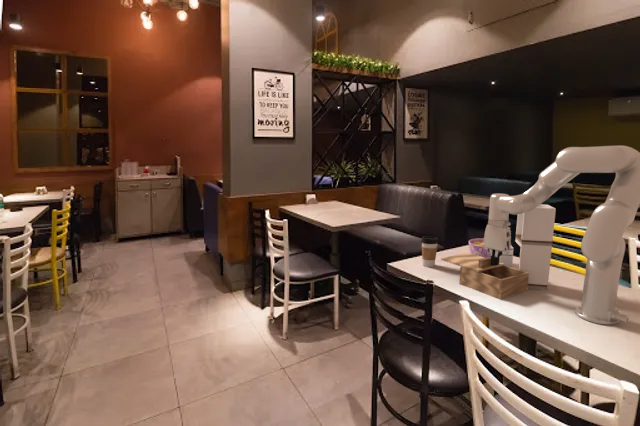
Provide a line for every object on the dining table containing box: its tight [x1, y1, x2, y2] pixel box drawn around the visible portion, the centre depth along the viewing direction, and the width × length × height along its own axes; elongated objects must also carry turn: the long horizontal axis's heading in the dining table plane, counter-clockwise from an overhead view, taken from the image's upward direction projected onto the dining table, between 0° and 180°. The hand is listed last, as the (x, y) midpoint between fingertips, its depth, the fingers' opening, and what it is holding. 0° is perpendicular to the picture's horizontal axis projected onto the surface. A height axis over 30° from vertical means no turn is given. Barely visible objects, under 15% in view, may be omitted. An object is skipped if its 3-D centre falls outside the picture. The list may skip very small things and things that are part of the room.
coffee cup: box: [420, 235, 439, 268], centre depth 189 cm, size 8×8×15 cm
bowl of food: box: [468, 237, 491, 258], centre depth 190 cm, size 20×20×12 cm
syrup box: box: [499, 245, 514, 268], centre depth 173 cm, size 6×6×14 cm
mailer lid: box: [440, 252, 505, 272], centre depth 167 cm, size 20×18×4 cm
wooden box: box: [459, 265, 529, 300], centre depth 159 cm, size 20×18×8 cm
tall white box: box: [514, 203, 557, 291], centre depth 160 cm, size 11×11×35 cm
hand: (494, 264), depth 158 cm, fingers closed
